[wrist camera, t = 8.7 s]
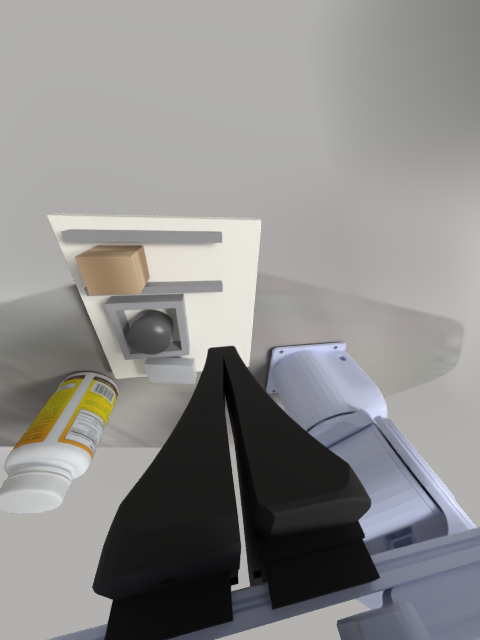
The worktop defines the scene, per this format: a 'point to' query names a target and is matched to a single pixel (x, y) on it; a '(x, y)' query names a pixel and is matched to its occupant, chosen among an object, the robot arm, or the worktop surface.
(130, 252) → the tan block
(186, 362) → the grey rocker switch
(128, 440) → the worktop surface
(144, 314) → the black push button
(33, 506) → the supplement bottle
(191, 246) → the switch board
